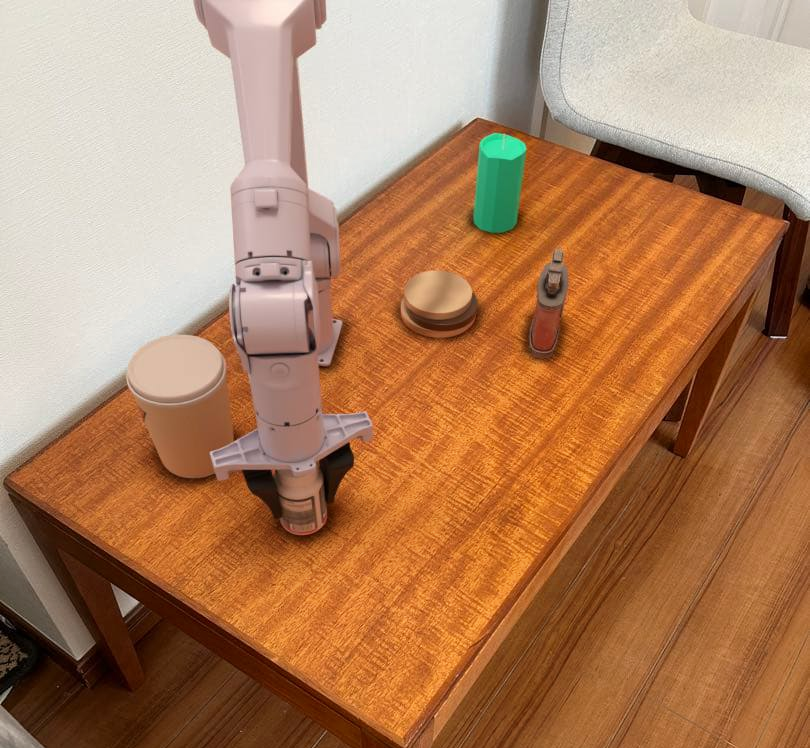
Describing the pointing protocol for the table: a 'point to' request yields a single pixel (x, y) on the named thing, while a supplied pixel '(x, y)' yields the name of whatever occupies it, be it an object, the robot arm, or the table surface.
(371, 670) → the table surface
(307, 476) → the pill bottle
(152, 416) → the coffee cup
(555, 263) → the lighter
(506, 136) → the candle
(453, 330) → the tan layered disc
